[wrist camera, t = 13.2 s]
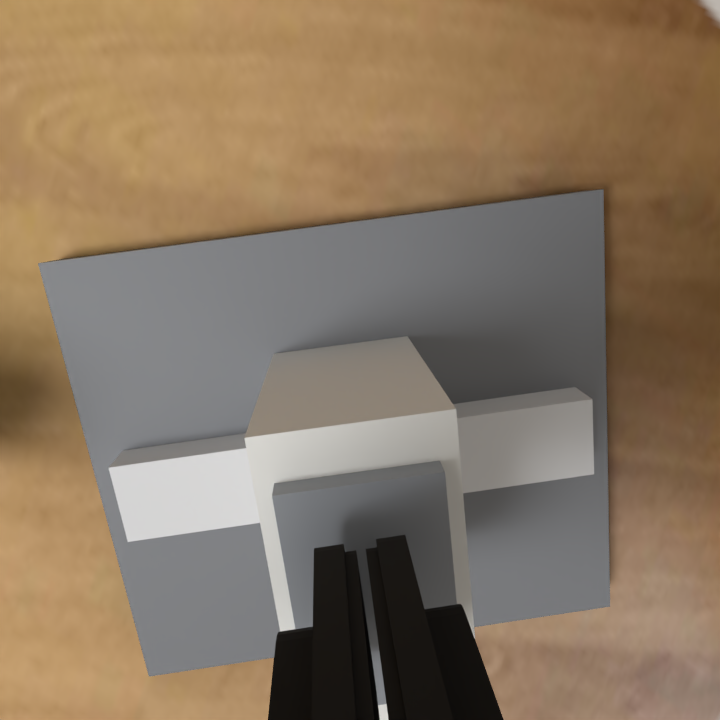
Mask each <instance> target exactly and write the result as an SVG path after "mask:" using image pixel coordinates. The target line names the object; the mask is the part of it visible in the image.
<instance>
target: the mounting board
mask: <svg viewBox="0 0 720 720" xmlns="http://www.w3.org/2000/svg"><path fill="white" fill-rule="evenodd" d="M38 265H39V269H40V272H41V276H42V280H43V283H44V287H45V291H46V295H47V298H48V302H49V306H50V310H51V313H52V317H53V321H54V324H55V328H56V332H57V336H58V339H59V343H60V347H61V351H62V354H63V358H64V362H65V365H66V369H67V373H68V377H69V380H70V384H71V388H72V391H73V395H74V399H75V403H76V406H77V410H78V414H79V418H80V421H81V425H82V429H83V432H84V436H85V440H86V444H87V447H88V451H89V455H90V459H91V462H92V466H93V470H94V473H95V477H96V481H97V485H98V488H99V492H100V496H101V499H102V503H103V507H104V511H105V514H106V518H107V522H108V526H109V529H110V533H111V537H112V540H113V544H114V548H115V552H116V555H117V559H118V563H119V567H120V570H121V574H122V578H123V581H124V585H125V589H126V593H127V596H128V600H129V604H130V607H131V611H132V615H133V619H134V622H135V626H136V630H137V634H138V637H139V641H140V645H141V648H142V652H143V656H144V660H145V663H146V667H147V671H148V675H149V676H155V675H162V674H168V673H175V672H182V671H188V670H195V669H201V668H208V667H215V666H221V665H228V664H234V663H241V662H247V661H254V660H261V659H267V658H274V655H275V644H276V637H277V634H278V632H280V628H279V622H278V617H277V612H276V606H275V601H274V595H273V590H272V585H271V579H270V574H269V568H268V563H267V558H266V552H265V547H264V541H263V536H262V531H261V525H260V520H259V515H258V509H257V504H256V498H255V493H254V488H253V482H252V477H251V471H250V466H249V461H248V455H247V450H246V444H245V439H244V437H245V434H246V431H247V429H248V426H249V423H250V420H251V417H252V414H253V411H254V408H255V405H256V403H257V400H258V397H259V394H260V391H261V388H262V385H263V382H264V380H265V377H266V374H267V371H268V368H269V365H270V362H271V359H272V357H273V354H275V353H283V352H291V351H298V350H306V349H313V348H321V347H329V346H336V345H344V344H351V343H359V342H367V341H374V340H382V339H389V338H397V337H404V336H408V338H409V339H410V341H411V342H412V344H413V345H414V347H415V348H416V350H417V351H418V353H419V354H420V356H421V357H422V359H423V360H424V362H425V363H426V365H427V366H428V368H429V369H430V371H431V372H432V374H433V375H434V377H435V378H436V380H437V381H438V383H439V384H440V386H441V387H442V389H443V390H444V392H445V393H446V395H447V396H448V398H449V399H450V401H451V402H452V404H453V405H454V406H455V408H456V413H457V425H458V437H459V449H460V462H461V474H462V486H463V498H464V510H465V523H466V535H467V547H468V559H469V571H470V584H471V596H472V608H473V620H474V627H478V626H484V625H491V624H498V623H504V622H511V621H517V620H524V619H531V618H537V617H544V616H550V615H557V614H564V613H570V612H577V611H583V610H590V609H596V608H603V607H610V572H609V508H608V445H607V382H606V318H605V255H604V192H603V189H600V190H587V191H579V192H571V193H563V194H556V195H548V196H540V197H533V198H525V199H518V200H510V201H502V202H495V203H487V204H479V205H472V206H464V207H457V208H449V209H441V210H434V211H426V212H419V213H411V214H403V215H396V216H388V217H380V218H373V219H365V220H358V221H350V222H342V223H335V224H327V225H319V226H312V227H304V228H297V229H289V230H281V231H274V232H266V233H259V234H251V235H243V236H236V237H228V238H220V239H213V240H205V241H198V242H190V243H182V244H175V245H167V246H159V247H152V248H144V249H137V250H129V251H121V252H114V253H106V254H99V255H91V256H83V257H76V258H68V259H60V260H54V261H49V262H43V263H38Z"/></svg>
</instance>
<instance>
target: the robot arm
mask: <svg viewBox="0 0 720 720" xmlns="http://www.w3.org/2000/svg"><path fill="white" fill-rule="evenodd" d="M376 544H377V547H375V548H368V549H366V556H367V563H368V570H369V578H370V585H371V593H372V600H373V608H374V615H375V622H376V630H377V637H378V645H379V652H380V660H381V667H382V674H383V682H384V689H385V697H386V704H387V712H388V719H389V720H503V717H502V714H501V712H500V709H499V706H498V703H497V700H496V698H495V695H494V692H493V689H492V686H491V683H490V681H489V678H488V675H487V672H486V669H485V667H484V664H483V661H482V658H481V655H480V653H479V650H478V647H477V644H476V641H475V639H474V636H473V633H472V630H471V627H470V625H469V622H468V619H467V616H466V613H465V611H464V608H463V606H462V605H461V604H456V605H449V606H443V607H436V608H430V609H424V605H423V601H422V597H421V594H420V590H419V586H418V582H417V578H416V574H415V570H414V567H413V563H412V559H411V555H410V551H409V547H408V543H407V540H406V536H405V535H399V536H393V537H386V538H379V539H376ZM268 720H380V717H379V708H378V700H377V691H376V683H375V676H374V669H373V662H372V655H371V648H370V641H369V634H368V627H367V621H366V614H365V607H364V600H363V593H362V586H361V579H360V572H359V566H358V559H357V552H356V550H355V551H348V552H345V548H344V544H339V545H332V546H326V547H319V548H314V576H313V627H307V628H300V629H294V630H287V631H281V632H278V634H277V637H276V644H275V655H274V665H273V675H272V685H271V695H270V705H269V716H268Z"/></svg>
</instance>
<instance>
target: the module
mask: <svg viewBox="0 0 720 720" xmlns="http://www.w3.org/2000/svg"><path fill="white" fill-rule="evenodd" d="M244 439H245V444H246V450H247V455H248V461H249V466H250V471H251V477H252V482H253V488H254V493H255V498H256V504H257V509H258V515H259V520H260V525H261V531H262V536H263V541H264V547H265V552H266V558H267V563H268V568H269V574H270V579H271V585H272V590H273V595H274V601H275V606H276V612H277V617H278V622H279V628H280V632H281V631H287V630H294V629H300V628H307V627H313V576H314V548H319V547H326V546H332V545H339V544H344V548H345V552H348V551H355V550H356V552H357V559H358V566H359V572H360V579H361V586H362V593H363V600H364V607H365V614H366V621H367V627H368V634H369V641H370V648H371V655H372V662H373V669H374V676H375V683H376V691H377V700H378V708H379V717H380V720H389V719H388V712H387V704H386V697H385V689H384V682H383V674H382V667H381V660H380V652H379V645H378V637H377V630H376V622H375V615H374V608H373V600H372V593H371V585H370V578H369V570H368V563H367V556H366V549H368V548H375V547H377V544H376V539H379V538H386V537H393V536H399V535H405V536H406V540H407V543H408V547H409V551H410V555H411V559H412V563H413V567H414V570H415V574H416V578H417V582H418V586H419V590H420V594H421V597H422V601H423V605H424V609H430V608H436V607H443V606H449V605H456V604H461V605H462V606H463V608H464V611H465V613H466V616H467V619H468V622H469V625H470V627H471V630H472V633H473V636H474V639H475V632H474V620H473V608H472V596H471V584H470V571H469V559H468V547H467V535H466V523H465V510H464V498H463V486H462V474H461V462H460V449H459V437H458V425H457V413H456V408H455V406H454V405H453V404H452V402H451V401H450V399H449V398H448V396H447V395H446V393H445V392H444V390H443V389H442V387H441V386H440V384H439V383H438V381H437V380H436V378H435V377H434V375H433V374H432V372H431V371H430V369H429V368H428V366H427V365H426V363H425V362H424V360H423V359H422V357H421V356H420V354H419V353H418V351H417V350H416V348H415V347H414V345H413V344H412V342H411V341H410V339H409V338H408V336H404V337H397V338H389V339H382V340H374V341H367V342H359V343H351V344H344V345H336V346H329V347H321V348H313V349H306V350H298V351H291V352H283V353H275V354H273V357H272V359H271V362H270V365H269V368H268V371H267V374H266V377H265V380H264V382H263V385H262V388H261V391H260V394H259V397H258V400H257V403H256V405H255V408H254V411H253V414H252V417H251V420H250V423H249V426H248V429H247V431H246V434H245V437H244Z"/></svg>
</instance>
